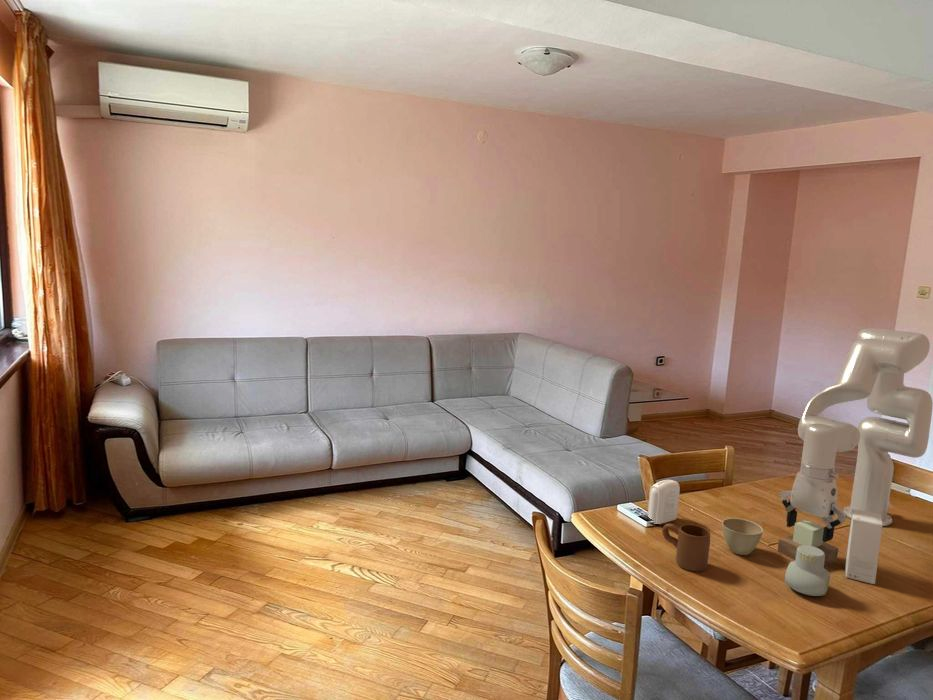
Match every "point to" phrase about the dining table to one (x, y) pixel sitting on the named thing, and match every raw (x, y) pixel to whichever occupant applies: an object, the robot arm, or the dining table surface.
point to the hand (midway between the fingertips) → (808, 533)
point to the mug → (690, 545)
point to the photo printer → (663, 501)
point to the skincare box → (863, 546)
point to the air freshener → (808, 572)
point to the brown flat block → (790, 547)
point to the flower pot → (741, 535)
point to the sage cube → (808, 533)
